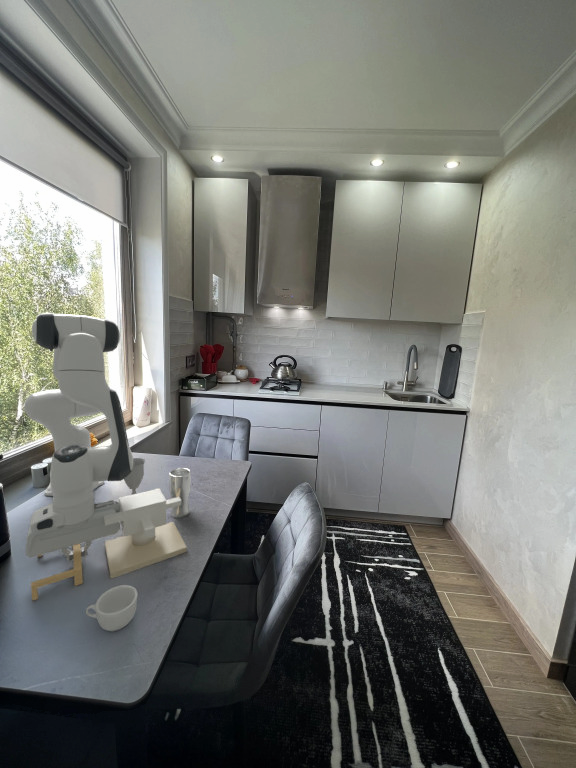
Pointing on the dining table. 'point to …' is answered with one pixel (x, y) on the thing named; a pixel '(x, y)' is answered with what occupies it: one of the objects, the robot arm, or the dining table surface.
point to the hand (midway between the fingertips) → (77, 557)
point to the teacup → (115, 607)
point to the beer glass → (180, 490)
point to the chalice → (135, 475)
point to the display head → (142, 533)
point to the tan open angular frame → (74, 572)
